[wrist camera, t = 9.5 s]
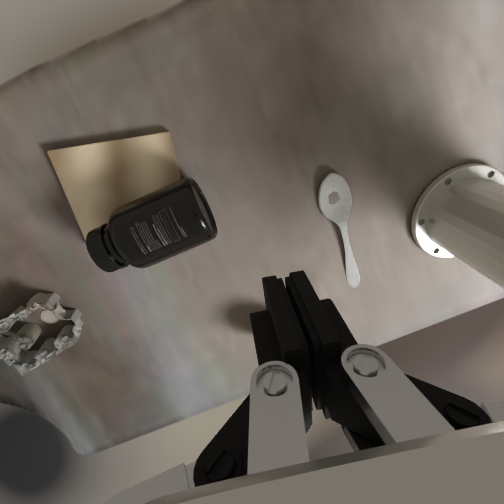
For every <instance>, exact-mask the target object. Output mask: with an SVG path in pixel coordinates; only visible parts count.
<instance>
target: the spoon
mask: <svg viewBox="0 0 504 504" xmlns="http://www.w3.org/2000/svg"><path fill="white" fill-rule="evenodd" d="M332 192H337V193H338V195H339V197H340V200H339V201H338V202H337V203H335V204H330V203H329V199H328V195H329V194H330V193H332ZM318 202H319V208H320V210H321V212H322V214H323V215H324V216H325V217H326V218H328V219H329V220H331V221H333V222H335V223H336V224H338V226H339V227H340V229H341V233H342V237H343V242H344V248H345V262H346V276H347V282H348V283H349V285H350V286H351V287H353V288H356V287H358V285H359V282H360V275H359V271H358V268H357V265H356V262H355V259H354V256H353V253H352V250H351V246H350V242H349V238H348V232H347V220H348V216H349V214H350V211H351V207H352V195H351V191H350V188H349V186H348V184H347V182H346V181H345V179H344V178H343V177H342V176H341V175H339V174H337V173H330V174H328V175H327V176H326V177H325V179H324V180H323V181H322V183H321V186H320V189H319V195H318Z"/></svg>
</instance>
